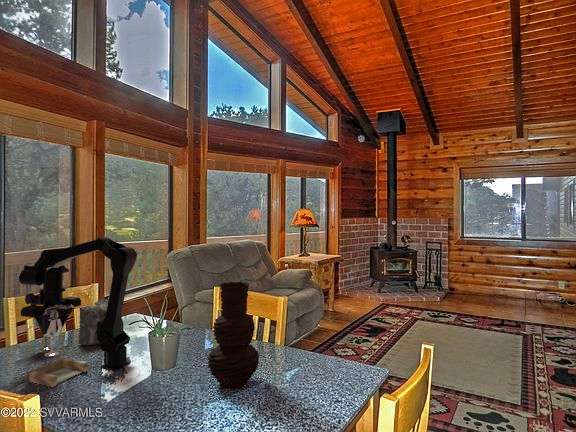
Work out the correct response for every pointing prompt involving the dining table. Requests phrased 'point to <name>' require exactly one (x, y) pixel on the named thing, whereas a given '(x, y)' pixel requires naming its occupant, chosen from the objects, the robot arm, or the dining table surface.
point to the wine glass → (52, 314)
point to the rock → (91, 322)
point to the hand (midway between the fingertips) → (52, 331)
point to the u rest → (57, 371)
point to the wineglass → (53, 332)
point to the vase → (233, 339)
